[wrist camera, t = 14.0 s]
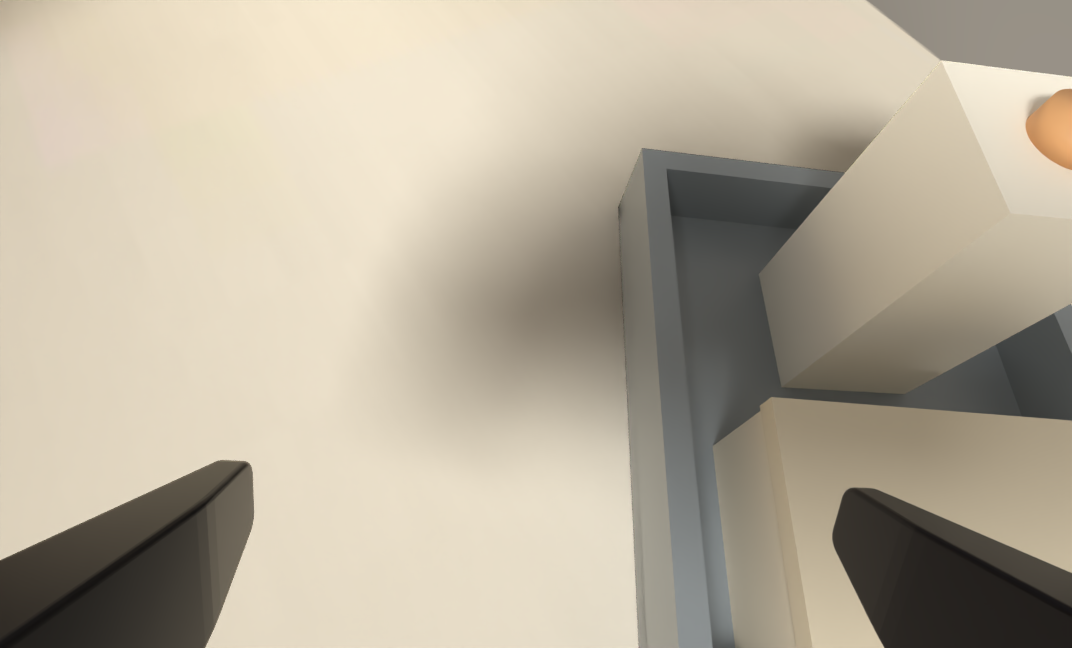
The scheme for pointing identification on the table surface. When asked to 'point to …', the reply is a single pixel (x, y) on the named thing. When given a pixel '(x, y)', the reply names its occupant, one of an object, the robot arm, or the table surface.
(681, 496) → the tote
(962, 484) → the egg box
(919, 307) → the juice carton
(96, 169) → the table surface
